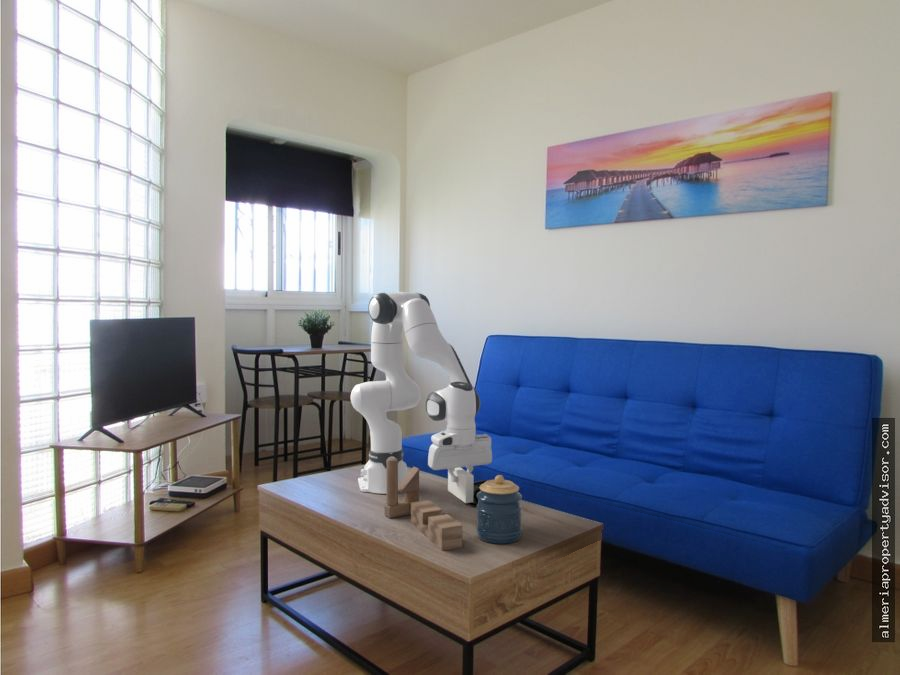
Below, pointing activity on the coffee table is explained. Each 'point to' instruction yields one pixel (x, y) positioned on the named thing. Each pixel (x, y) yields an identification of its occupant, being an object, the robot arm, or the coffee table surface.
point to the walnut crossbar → (436, 525)
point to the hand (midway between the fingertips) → (460, 481)
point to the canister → (499, 511)
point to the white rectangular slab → (462, 485)
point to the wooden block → (400, 490)
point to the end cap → (475, 493)
